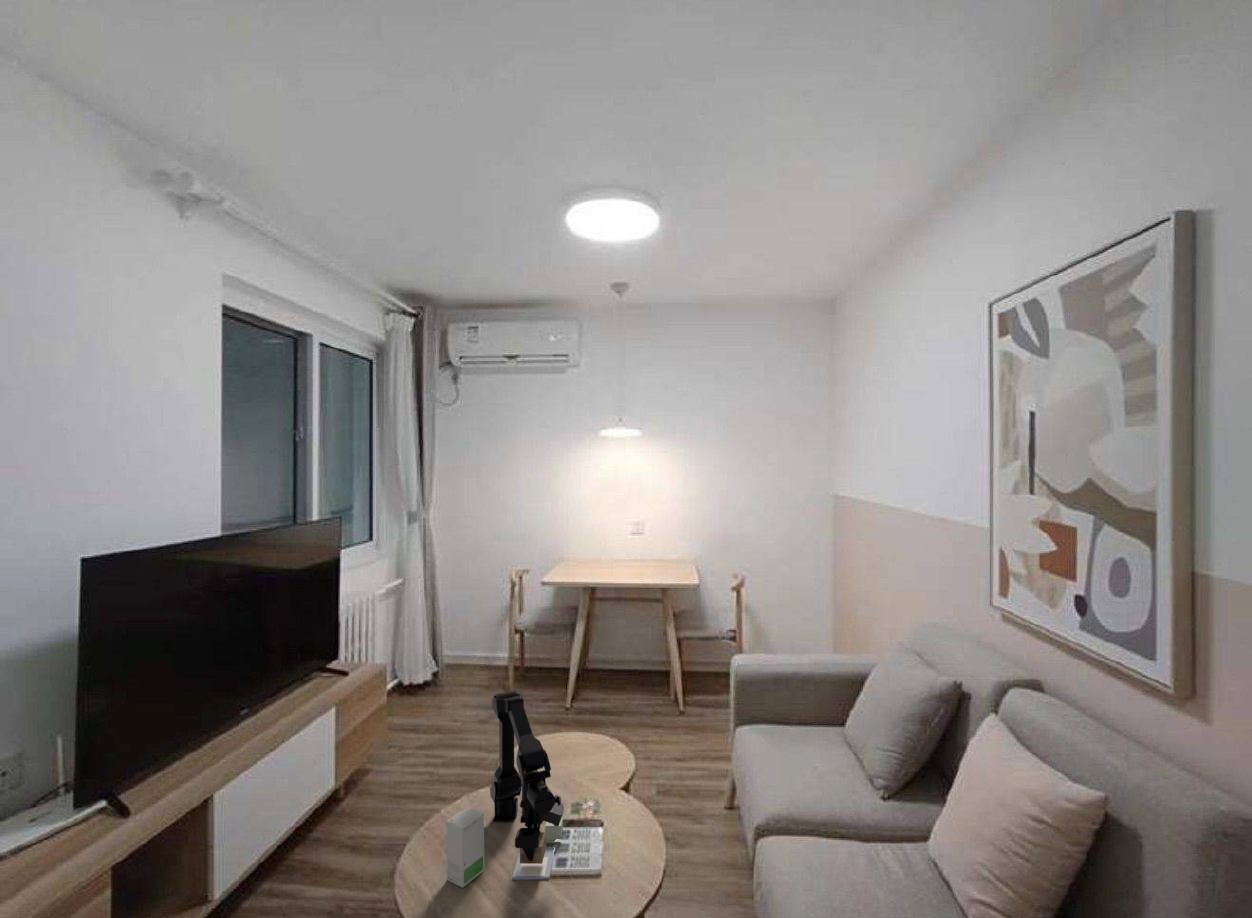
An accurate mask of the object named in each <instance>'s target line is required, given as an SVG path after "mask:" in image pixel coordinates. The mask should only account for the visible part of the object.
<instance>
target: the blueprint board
mask: <svg viewBox="0 0 1252 918" xmlns="http://www.w3.org/2000/svg"><path fill="white" fill-rule="evenodd" d="M553 847H554V846H546V851H545V855H544V858H543V862H542V864H520V851H519V852H518V856H517V858H516V859H517V860H516V862H515V866H514V870H513V873H512V876H511V880H515V881H516V880H550V877H551V875H552V869H553V868H552V867H553V864H552V863H554V859H553V850H554V848H553ZM551 868H552V869H551Z"/></svg>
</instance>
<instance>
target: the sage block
mask: <svg viewBox="0 0 1252 918" xmlns="http://www.w3.org/2000/svg"><path fill="white" fill-rule="evenodd" d="M545 832H546V844H553V842H554V841H555V840H556V839H561V837H562V838H563V836H562V832H563V833H564V816H563V815H562V818H561V821H560V824H559V826H554V825H553V824H551V823H548V822H545Z"/></svg>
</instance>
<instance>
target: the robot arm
mask: <svg viewBox="0 0 1252 918" xmlns="http://www.w3.org/2000/svg"><path fill="white" fill-rule="evenodd" d="M491 700H492V701H491V704H492V710H493V712H494V714H495V716H497V717H496V718H497V719H498V720H499V721H498V722H499V723H498V728H499V731H498V732H499V733H498V734H499V735H498V736H499V745H498V747H499V748H498V749H499V750H498V751H499V755H498V756H499V757H498V758H499V759H498V761H499V764H498V767H497V768H496V771H495V772H494V773H493V782H492V784H491V786H490V787H489V791H490V792H489V794H490V797H491V799H492V802H493V803H494V804H493V805H494V816H493V819H492V820H493V821H492V822H514V821H515V818H516V816H517V814H518V813H519V807H520V808H521V816H520V821H519V822H520V824H524V827H520V828H519V829H518V830H517V832H516V835H515V837H514V848H516V849H520V848H522V849H523V851H524V853H525V854H526V856H527V858H528V860H529V861H533V857H534V851H535V848H537V847H539V843H540V839H541V826H542V824H543V822H545V823H546V822H548V823H551V824H553V825H554V826H559V824H560V821H561V818H562V816H563V814H564V810H565V806H564V803H562V797H561V796H560V795H557V794H556V795H554V794H553V792H552V791H551V790H550V788H549V786H548V785H547V782H546V779H548V778H549V779H550V778H551V777H552V775H551V774H552V773H551V771H552V767H551V764H550V760H549V759H550V758H549V756H548V753H547V751H546V750H545V748H543V745H542V743H541V741H540V739H538V738H536V737H535V736H534V734H533V730H532V728H531V725H530V722H529V718H528V716H527V713H526V709H525V707H524V706H525V701H524V698H523V693H520V692H517V690H515V689H513V690H509V691H504V692H498V693H495V695H493V698H492V699H491ZM515 739H516V743H517V746H518V749H517V754H516V761H515ZM515 762H516V767H517V768H516V767H515ZM543 768H544V770H541V769H543ZM539 770H540V771H539ZM519 796H521V800H520V802H519V798H518V797H519ZM519 803H520V804H519Z"/></svg>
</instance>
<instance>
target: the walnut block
mask: <svg viewBox="0 0 1252 918" xmlns="http://www.w3.org/2000/svg"><path fill="white" fill-rule="evenodd" d="M546 847H547V843H546V832H543V831H542V832H541V839H540V843H539V847H537V848H535V851H534V857H533V861H529V860H528V858H527V856H526V854H525V853H524V851H523V849H522V848H519V852H520V864H542V862H543V858H544V855H545V851H546Z"/></svg>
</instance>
